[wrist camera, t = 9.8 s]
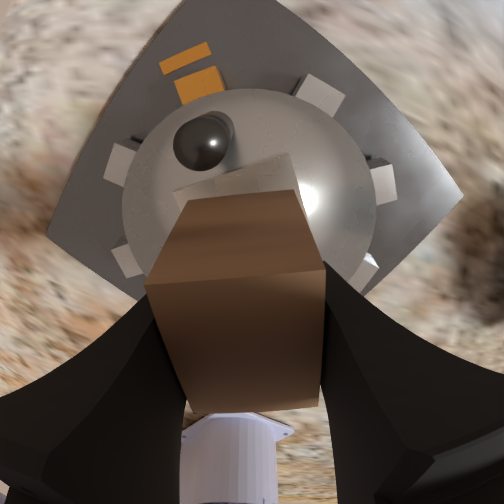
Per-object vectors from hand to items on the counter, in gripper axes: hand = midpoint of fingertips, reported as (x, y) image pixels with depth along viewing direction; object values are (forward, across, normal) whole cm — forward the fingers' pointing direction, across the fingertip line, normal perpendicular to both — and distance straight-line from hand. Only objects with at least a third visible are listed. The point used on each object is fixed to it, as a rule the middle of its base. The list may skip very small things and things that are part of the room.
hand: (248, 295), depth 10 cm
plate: (+8, 0, 0) cm, 8 cm away
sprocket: (+8, 0, 0) cm, 8 cm away
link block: (+2, 0, 0) cm, 2 cm away
